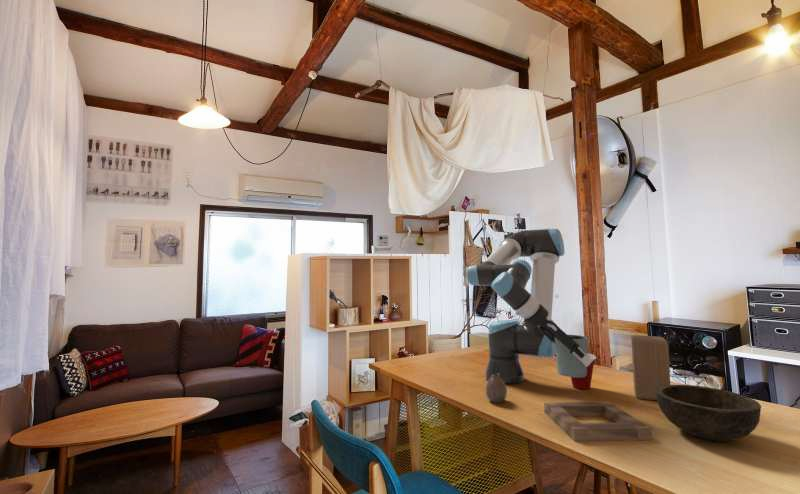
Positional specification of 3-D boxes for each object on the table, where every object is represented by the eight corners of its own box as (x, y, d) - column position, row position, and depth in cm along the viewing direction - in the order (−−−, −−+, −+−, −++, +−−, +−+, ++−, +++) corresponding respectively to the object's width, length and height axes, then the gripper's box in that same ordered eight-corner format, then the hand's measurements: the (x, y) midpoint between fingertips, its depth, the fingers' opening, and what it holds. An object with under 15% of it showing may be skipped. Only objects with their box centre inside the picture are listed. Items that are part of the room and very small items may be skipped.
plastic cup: (565, 390, 140) (564, 357, 141) (565, 382, 150) (564, 351, 151) (599, 393, 136) (597, 359, 137) (596, 385, 146) (594, 353, 147)
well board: (544, 412, 119) (544, 402, 119) (608, 411, 119) (608, 401, 119) (574, 440, 99) (573, 428, 99) (651, 439, 99) (650, 427, 99)
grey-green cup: (552, 375, 124) (551, 337, 125) (559, 368, 132) (558, 333, 133) (586, 379, 118) (585, 340, 119) (592, 372, 126) (590, 335, 127)
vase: (493, 396, 135) (492, 370, 135) (510, 400, 130) (510, 374, 130) (481, 401, 130) (481, 374, 130) (500, 406, 125) (499, 378, 125)
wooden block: (635, 399, 130) (632, 339, 131) (633, 390, 139) (631, 334, 140) (671, 403, 125) (668, 341, 127) (667, 394, 134) (664, 336, 135)
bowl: (786, 447, 94) (783, 405, 94) (722, 461, 88) (719, 416, 88) (695, 415, 115) (693, 381, 115) (638, 424, 108) (636, 388, 109)
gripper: (513, 315, 137) (559, 360, 136) (536, 324, 115) (590, 377, 114) (527, 300, 138) (573, 345, 137) (553, 306, 115) (607, 359, 114)
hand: (581, 359), depth 125 cm, fingers closed on grey-green cup, 10 cm apart
